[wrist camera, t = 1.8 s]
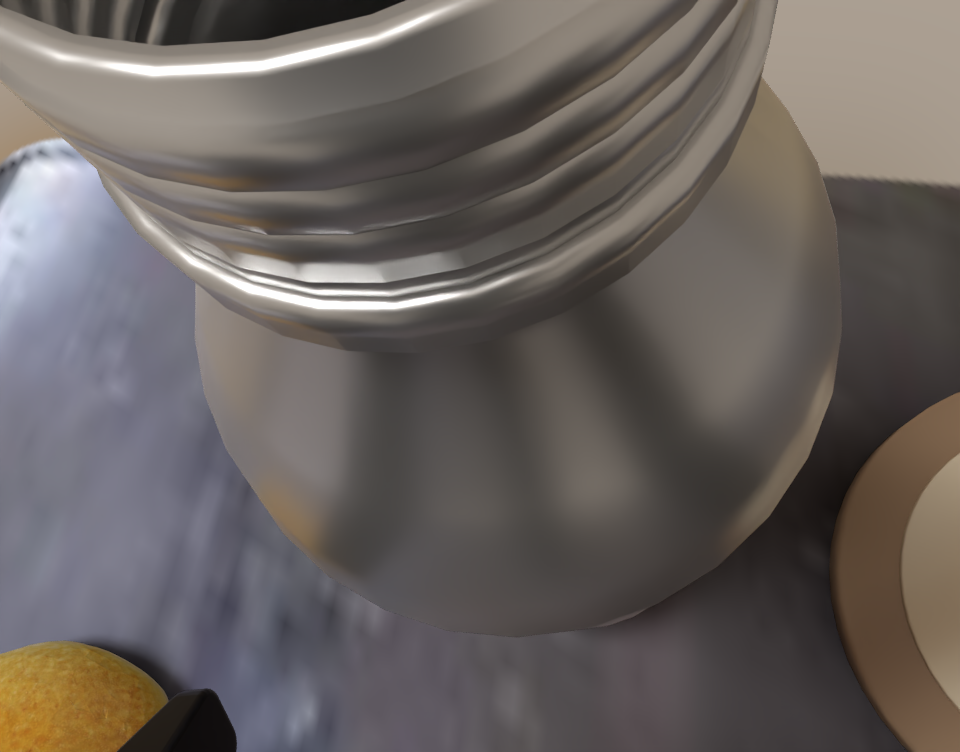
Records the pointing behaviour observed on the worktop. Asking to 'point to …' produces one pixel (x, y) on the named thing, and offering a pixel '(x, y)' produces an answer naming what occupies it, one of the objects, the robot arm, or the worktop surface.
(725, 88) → the plastic bottle
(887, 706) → the tan round plate
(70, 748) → the bread roll
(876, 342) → the worktop surface
